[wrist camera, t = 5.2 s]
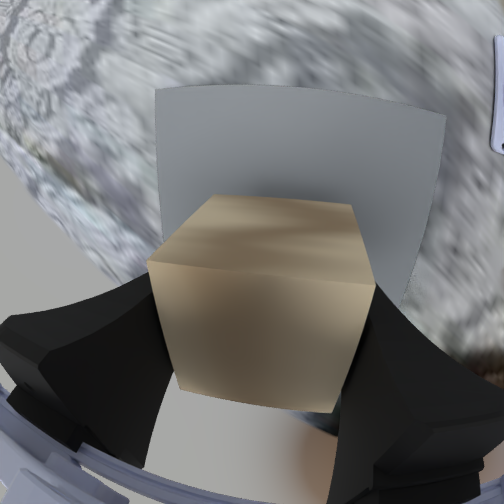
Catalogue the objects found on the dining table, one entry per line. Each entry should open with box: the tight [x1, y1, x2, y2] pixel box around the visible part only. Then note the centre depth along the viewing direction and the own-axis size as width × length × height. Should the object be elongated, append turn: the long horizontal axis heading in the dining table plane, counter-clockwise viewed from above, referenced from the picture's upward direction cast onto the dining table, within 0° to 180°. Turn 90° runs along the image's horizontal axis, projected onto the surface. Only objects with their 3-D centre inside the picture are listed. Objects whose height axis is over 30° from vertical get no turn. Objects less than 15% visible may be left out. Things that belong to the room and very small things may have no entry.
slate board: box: [155, 85, 447, 308], centre depth 16 cm, size 16×14×1 cm
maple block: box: [146, 194, 376, 413], centre depth 9 cm, size 5×5×5 cm
